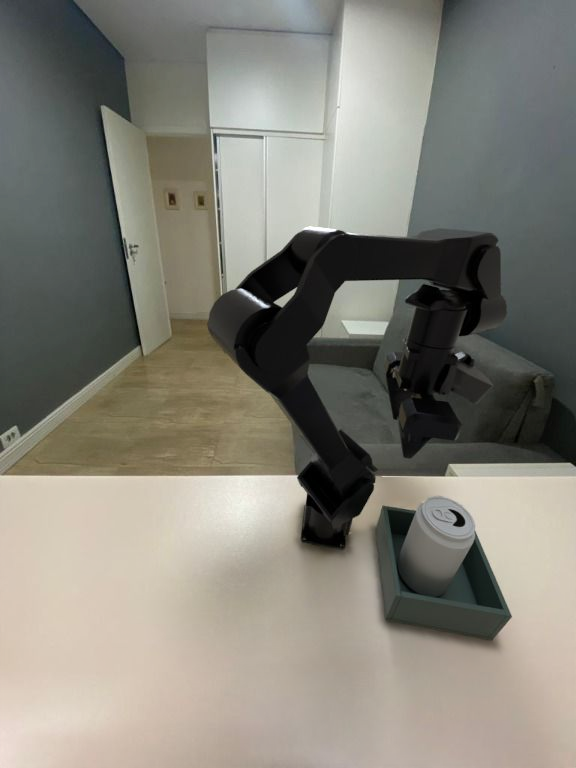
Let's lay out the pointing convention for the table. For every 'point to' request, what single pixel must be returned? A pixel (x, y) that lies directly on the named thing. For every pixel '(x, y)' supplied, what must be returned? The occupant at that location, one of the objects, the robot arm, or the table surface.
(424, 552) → the beverage can
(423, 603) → the shallow open box
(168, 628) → the table surface
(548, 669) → the table surface
